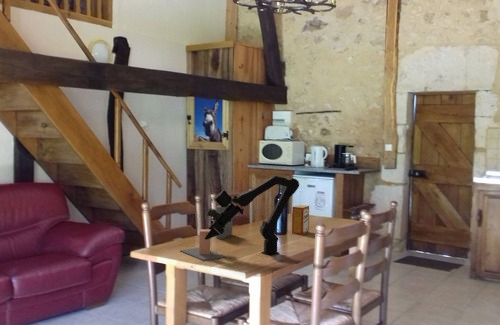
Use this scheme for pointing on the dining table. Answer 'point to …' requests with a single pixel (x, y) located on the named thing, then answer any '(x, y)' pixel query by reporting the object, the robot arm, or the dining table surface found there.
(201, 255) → the charcoal mat
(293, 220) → the baking soda box
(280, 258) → the dining table surface
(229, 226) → the flask
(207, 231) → the terracotta block
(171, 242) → the dining table surface
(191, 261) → the dining table surface
